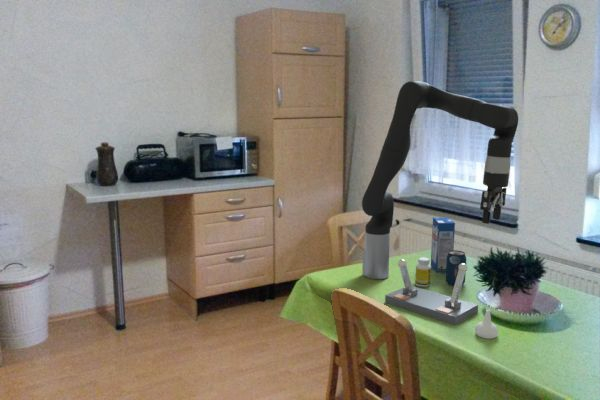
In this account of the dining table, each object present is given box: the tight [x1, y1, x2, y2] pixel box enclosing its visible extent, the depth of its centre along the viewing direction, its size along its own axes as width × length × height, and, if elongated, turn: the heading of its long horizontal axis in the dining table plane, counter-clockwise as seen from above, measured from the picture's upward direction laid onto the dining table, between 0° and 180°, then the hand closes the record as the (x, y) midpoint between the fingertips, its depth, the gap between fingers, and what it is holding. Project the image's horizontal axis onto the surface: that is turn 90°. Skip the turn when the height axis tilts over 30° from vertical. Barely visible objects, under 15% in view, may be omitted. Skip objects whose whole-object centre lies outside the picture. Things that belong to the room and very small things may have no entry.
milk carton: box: [430, 217, 456, 274], centre depth 218 cm, size 10×6×20 cm, turn 179°
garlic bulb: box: [474, 308, 499, 340], centre depth 159 cm, size 6×6×8 cm
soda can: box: [445, 249, 467, 287], centre depth 201 cm, size 7×7×12 cm
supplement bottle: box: [414, 256, 432, 288], centre depth 201 cm, size 5×5×10 cm
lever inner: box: [397, 259, 413, 293], centre depth 182 cm, size 3×3×13 cm
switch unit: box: [384, 285, 479, 326], centre depth 180 cm, size 26×14×4 cm, turn 45°
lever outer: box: [450, 263, 469, 304], centre depth 175 cm, size 3×3×13 cm
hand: (491, 221), depth 176 cm, fingers open, 8 cm apart
